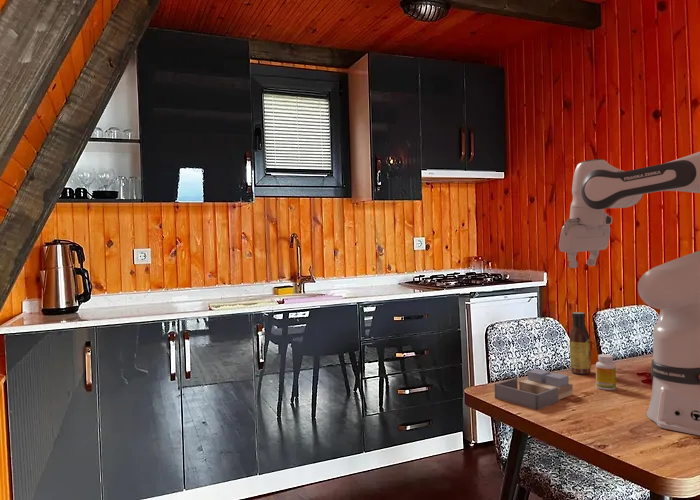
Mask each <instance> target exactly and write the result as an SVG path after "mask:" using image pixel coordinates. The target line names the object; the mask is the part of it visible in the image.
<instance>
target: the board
mask: <svg viewBox="0 0 700 500" xmlns="http://www.w3.org/2000/svg"><path fill="white" fill-rule="evenodd" d="M573 387H574V386H573V384H572V383H569V384H568V385H565V386H562V387H557V388H558V401H559V400H562V399H564V398H567V397H570V396H572V395H573V394H574V393H573V389H574V388H573ZM553 388H556V386H552V385H548V384H546V382H543V383H539V382H535V381H531V380H528V378H526V379H523V380H520V381H518V390H522V391H526V392H530V393H534V394H539V393H541V392H544V391H547V390H550V389H553Z"/></svg>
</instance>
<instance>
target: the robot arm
mask: <svg viewBox="0 0 700 500" xmlns="http://www.w3.org/2000/svg"><path fill="white" fill-rule="evenodd" d="M572 177H573V178H572V186H571V195H572V201H571V203H570V209H569V218H568V219H566V221H565V223H564V225H563V226H562V227H561V231H560V234H559V235H560V236H559V242H558V249H559V251H560V252H562V253H567V254H566V256H567V260H568V268H569V269H576V268H578V265H579V264H578V263H579V261H577V258H576V257H577V255H578V253H580V252H589V253H590V255H589V258H587V261H586V265H587V266H590V267H593V266H596V263H597V259H598V256H599V255H600V251H603V250H606V249H607V248H608V246H609V244H610V237H611V226H610V225H612V223H613V217H612V216H611V215H609V214H608V213H606V211H605V209H625V208H630V207H633V206H635V205H638V203H640V201H642V198H643V196H644V195H645V194H652V193H657V192H684V193H693V194H694V193H695V194H700V151H697V152H695V153H692V154H689V155H687V156H686V155H685V156H683V157H680V158H677V159H674V160H671V161H667V162H664V163H660V164H656V165H651V166H645V167H639V168H635V169H629V170H622V169H620V168H618V167H615V166H613V165H611V164H610V163H609V162H608V161H607V160H605V159H601V158H597V159H596V158H595V159H587V160H584V161H581V162H579V163H577V165H576V167H575V170H574V173H573V176H572ZM637 292H638V296H639V297H640V299H641V300H642V301H643V303H645V304H646V306H649V307H650V308H654V309H656V310H657V309H658V310H660V312H659V316H658V318H657V321H656V324H655V325H654V327H653V330H652V349H653V351H652V352H653V353H652V355H653V357H652V360H651V363H650V364H651V367H650V369H651V370H650V374H651V375H650V376H651V381H652V388H651V395H650V396H651V397H650V401H649V404H648V405H649V406H648V408H647V412H646V416H647V418H648V419H650V420H651V421H652V422H655V423H656V425H657V426H658V427H659V428H661V429H665V430H671V431H675V432H681V433H686V434H689V435H695V436H700V250H697V251H694V252H691V253H688V254H686V255H683V256H681V257H677V258H675V259H672V260H670V261H666V262H664V263H662V264H659V265H657V266H654V267H652V268H650V269H649V270H647V271H645V272H644V273H643V274H642V275H641V277H640V278H639V280H638V284H637Z"/></svg>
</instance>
